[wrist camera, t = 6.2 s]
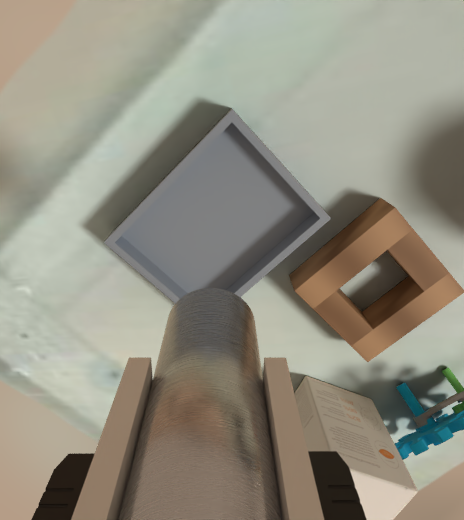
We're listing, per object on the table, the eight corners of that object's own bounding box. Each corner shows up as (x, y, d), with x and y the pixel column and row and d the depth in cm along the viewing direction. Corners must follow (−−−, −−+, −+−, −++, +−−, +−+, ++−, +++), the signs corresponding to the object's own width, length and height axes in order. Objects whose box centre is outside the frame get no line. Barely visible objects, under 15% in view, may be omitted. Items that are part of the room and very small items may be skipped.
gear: (387, 462, 42) (400, 476, 33) (355, 409, 45) (359, 408, 35) (479, 411, 42) (518, 411, 33) (442, 360, 44) (468, 347, 35)
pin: (210, 270, 17) (172, 817, 4) (272, 327, 18) (394, 892, 5) (149, 326, 18) (-37, 907, 5) (211, 377, 19) (188, 953, 6)
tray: (231, 108, 30) (232, 109, 27) (323, 209, 33) (331, 218, 31) (112, 232, 33) (103, 242, 31) (205, 313, 37) (204, 328, 34)
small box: (279, 412, 41) (296, 510, 32) (305, 372, 39) (332, 464, 30) (345, 435, 43) (381, 536, 33) (373, 398, 41) (420, 493, 31)
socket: (380, 197, 33) (395, 207, 30) (446, 276, 36) (464, 291, 33) (288, 275, 35) (294, 290, 32) (357, 342, 38) (367, 362, 35)
